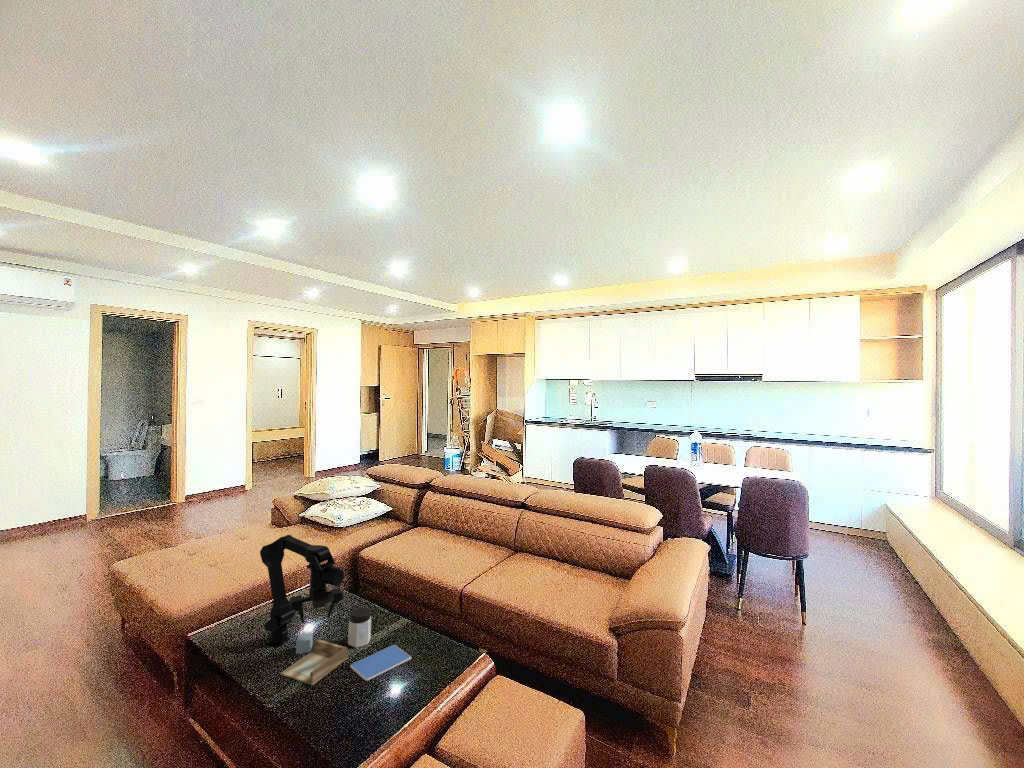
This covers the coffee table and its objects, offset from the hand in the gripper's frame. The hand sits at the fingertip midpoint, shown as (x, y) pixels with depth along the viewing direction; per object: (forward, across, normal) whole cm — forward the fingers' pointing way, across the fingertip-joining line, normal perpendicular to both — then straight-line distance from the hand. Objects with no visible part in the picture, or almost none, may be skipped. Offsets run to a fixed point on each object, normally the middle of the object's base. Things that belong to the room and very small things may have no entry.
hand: (315, 620), depth 171 cm
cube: (+13, -3, +4) cm, 14 cm away
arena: (+12, -1, -10) cm, 16 cm away
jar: (+12, +17, -1) cm, 21 cm away
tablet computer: (+12, +21, -20) cm, 31 cm away
